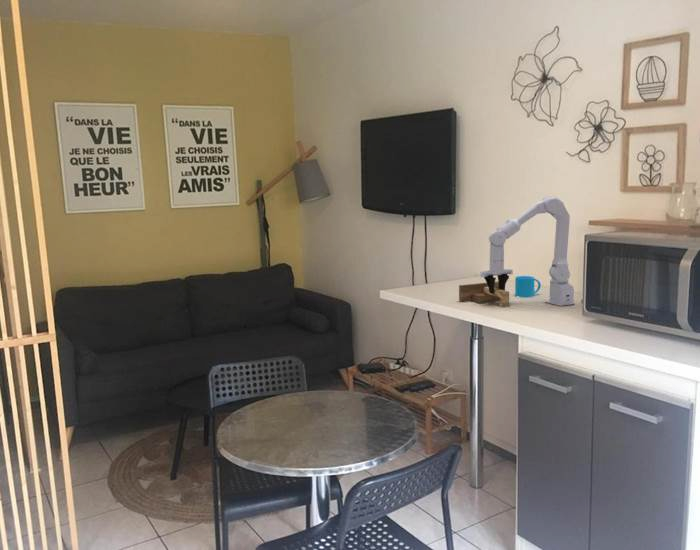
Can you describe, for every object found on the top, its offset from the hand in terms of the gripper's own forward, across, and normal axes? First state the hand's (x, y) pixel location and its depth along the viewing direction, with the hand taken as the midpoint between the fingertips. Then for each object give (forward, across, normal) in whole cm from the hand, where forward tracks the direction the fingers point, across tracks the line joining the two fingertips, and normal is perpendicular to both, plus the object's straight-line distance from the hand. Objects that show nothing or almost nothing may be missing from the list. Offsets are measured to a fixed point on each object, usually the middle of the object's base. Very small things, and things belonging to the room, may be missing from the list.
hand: (496, 292), depth 263 cm
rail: (+5, 0, 0) cm, 5 cm away
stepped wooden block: (+5, 0, -6) cm, 8 cm away
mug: (+5, -23, -9) cm, 25 cm away
